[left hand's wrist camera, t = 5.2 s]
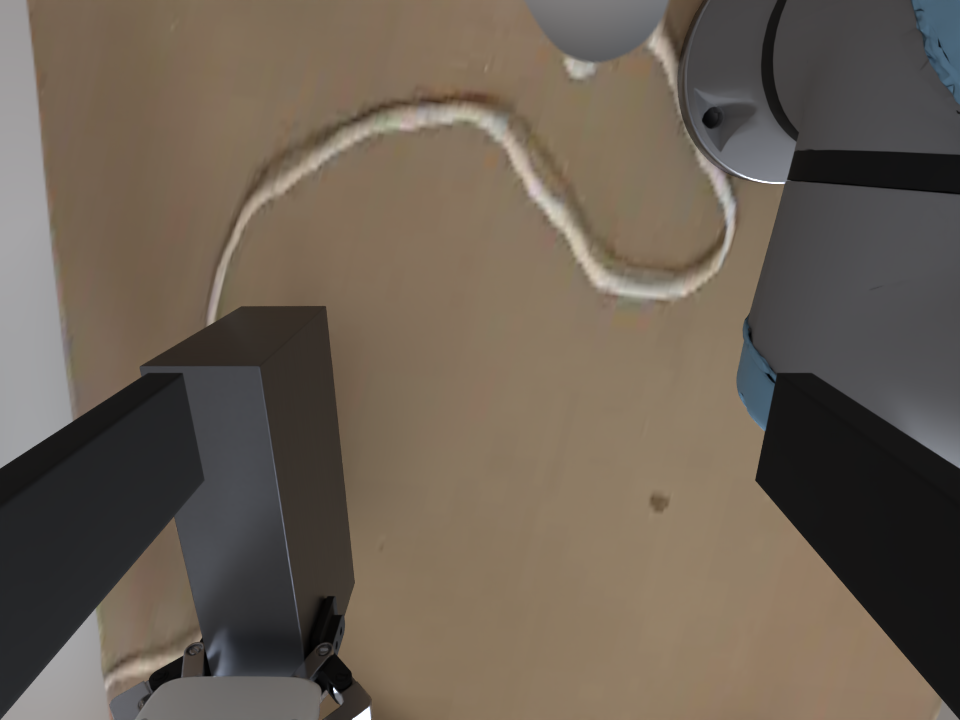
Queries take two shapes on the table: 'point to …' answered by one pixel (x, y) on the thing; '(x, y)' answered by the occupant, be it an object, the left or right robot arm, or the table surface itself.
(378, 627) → the table surface
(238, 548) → the box
